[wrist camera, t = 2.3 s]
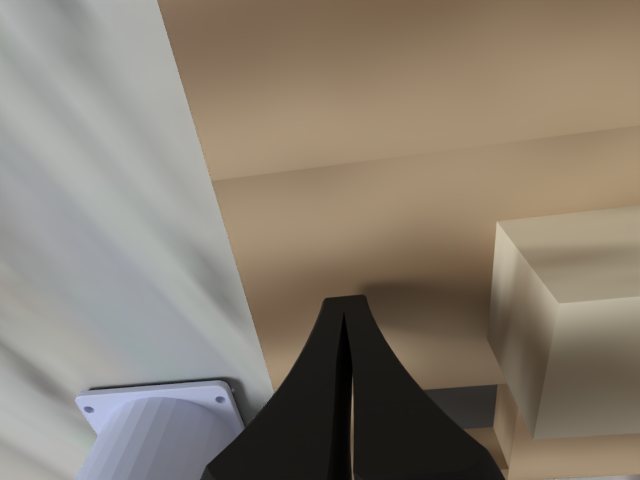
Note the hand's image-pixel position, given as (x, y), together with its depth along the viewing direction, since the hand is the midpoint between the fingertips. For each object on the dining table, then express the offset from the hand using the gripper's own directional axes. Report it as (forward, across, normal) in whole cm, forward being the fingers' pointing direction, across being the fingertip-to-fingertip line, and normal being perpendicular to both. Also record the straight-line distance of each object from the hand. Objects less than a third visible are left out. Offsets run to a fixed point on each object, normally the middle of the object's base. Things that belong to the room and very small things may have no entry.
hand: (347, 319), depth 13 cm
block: (+1, -8, 0) cm, 8 cm away
